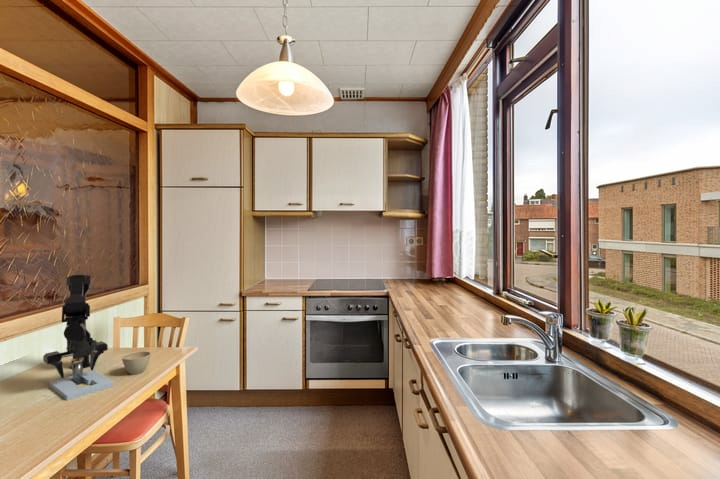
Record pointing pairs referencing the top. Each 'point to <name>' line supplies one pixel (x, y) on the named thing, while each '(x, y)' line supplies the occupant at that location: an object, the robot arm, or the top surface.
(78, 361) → the bolt
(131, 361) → the grey bowl
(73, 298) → the robot arm
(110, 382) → the keyhole board
